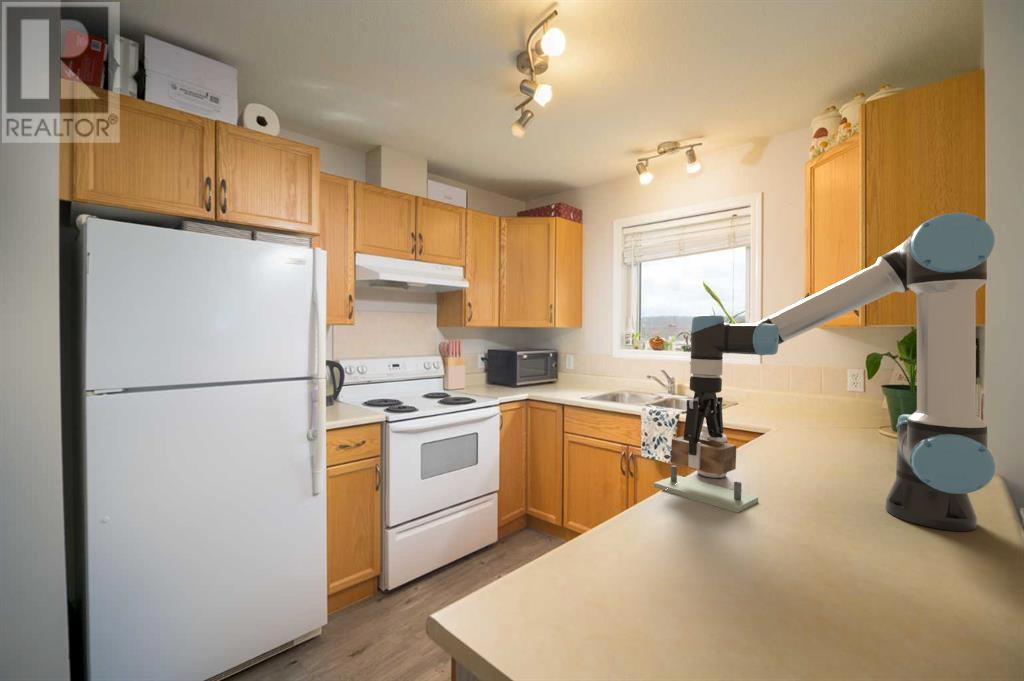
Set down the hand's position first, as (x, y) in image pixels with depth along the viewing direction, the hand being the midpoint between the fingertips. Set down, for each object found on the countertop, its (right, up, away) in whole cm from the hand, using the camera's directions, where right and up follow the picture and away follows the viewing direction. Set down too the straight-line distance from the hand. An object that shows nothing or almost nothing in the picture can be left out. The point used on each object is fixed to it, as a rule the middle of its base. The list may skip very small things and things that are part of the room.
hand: (703, 464), depth 117 cm
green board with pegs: (0, -8, 0) cm, 8 cm away
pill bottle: (+9, -8, +16) cm, 20 cm away
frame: (0, 0, 0) cm, 0 cm away
